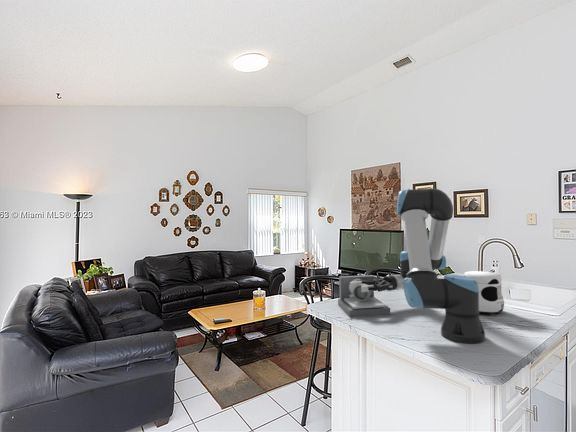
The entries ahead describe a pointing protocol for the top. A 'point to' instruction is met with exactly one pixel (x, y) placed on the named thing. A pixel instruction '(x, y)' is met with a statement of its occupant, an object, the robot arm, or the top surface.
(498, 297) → the white rounded piece
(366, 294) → the ceramic mug
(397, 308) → the top surface
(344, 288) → the kitchen scale
